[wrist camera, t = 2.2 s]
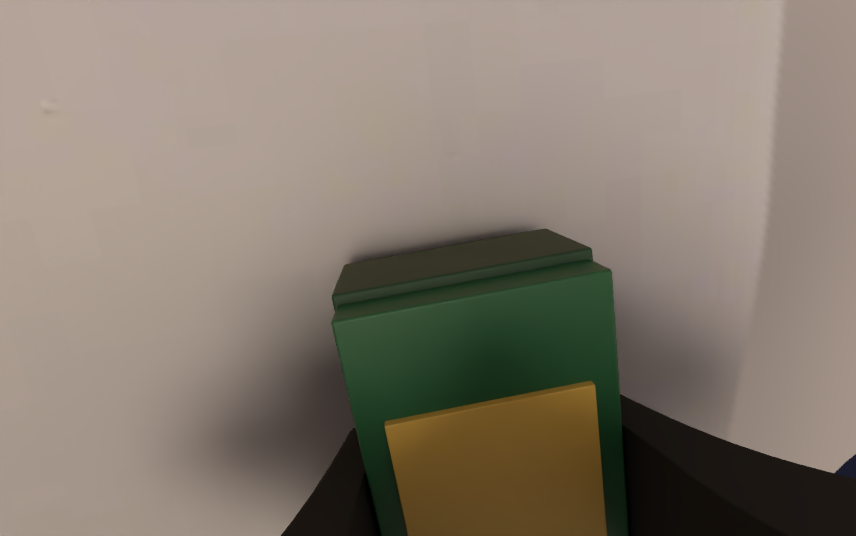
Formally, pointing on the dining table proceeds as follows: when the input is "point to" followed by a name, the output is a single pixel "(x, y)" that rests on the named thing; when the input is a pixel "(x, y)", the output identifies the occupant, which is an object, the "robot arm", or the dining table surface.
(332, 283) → the dining table surface
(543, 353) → the green box
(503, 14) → the dining table surface
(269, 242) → the dining table surface
